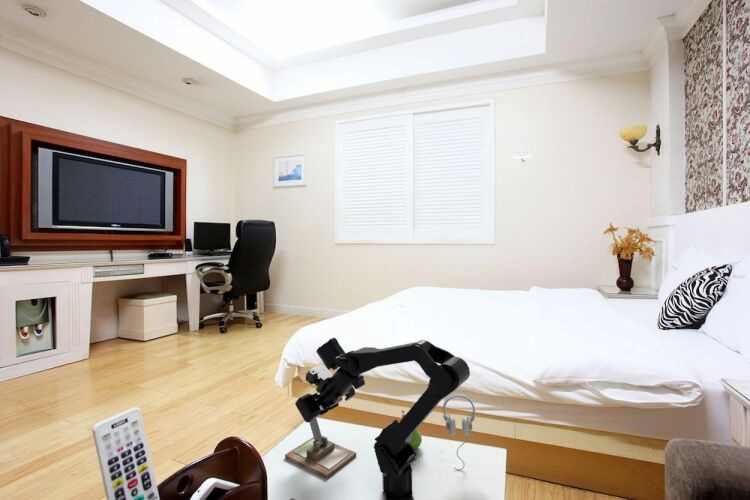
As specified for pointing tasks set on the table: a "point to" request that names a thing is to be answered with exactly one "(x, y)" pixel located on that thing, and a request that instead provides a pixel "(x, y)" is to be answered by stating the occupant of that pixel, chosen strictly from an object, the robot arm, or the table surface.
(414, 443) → the snail figurine
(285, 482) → the table surface
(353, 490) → the table surface
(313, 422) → the toggle lever
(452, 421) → the headphones
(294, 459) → the switch base
